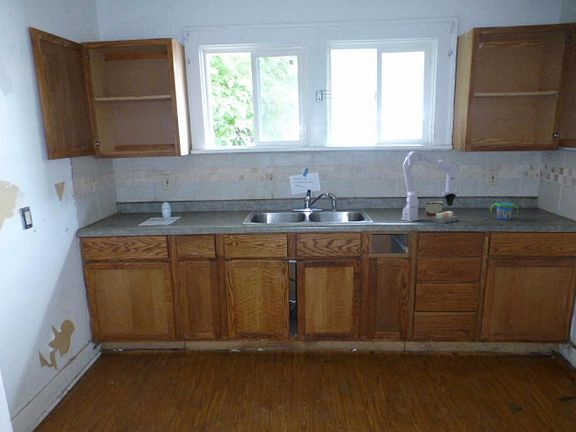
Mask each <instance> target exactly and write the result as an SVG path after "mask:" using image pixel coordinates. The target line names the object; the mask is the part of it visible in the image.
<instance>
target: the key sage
mask: <svg viewBox="0 0 576 432" xmlns="http://www.w3.org/2000/svg"><path fill="white" fill-rule="evenodd" d="M436 218H439V219H442V218H444V214H443V213H436Z"/></svg>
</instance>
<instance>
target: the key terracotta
mask: <svg viewBox="0 0 576 432" xmlns="http://www.w3.org/2000/svg"><path fill="white" fill-rule="evenodd" d="M441 213H443V214H444V218H447V217H448V214H449V213H447V211H441Z"/></svg>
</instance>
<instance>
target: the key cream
mask: <svg viewBox="0 0 576 432" xmlns="http://www.w3.org/2000/svg"><path fill="white" fill-rule="evenodd" d="M446 212H447V213H449V214H448V217H452V216H454V212H453V211H451V210H449V211H446Z"/></svg>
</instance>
